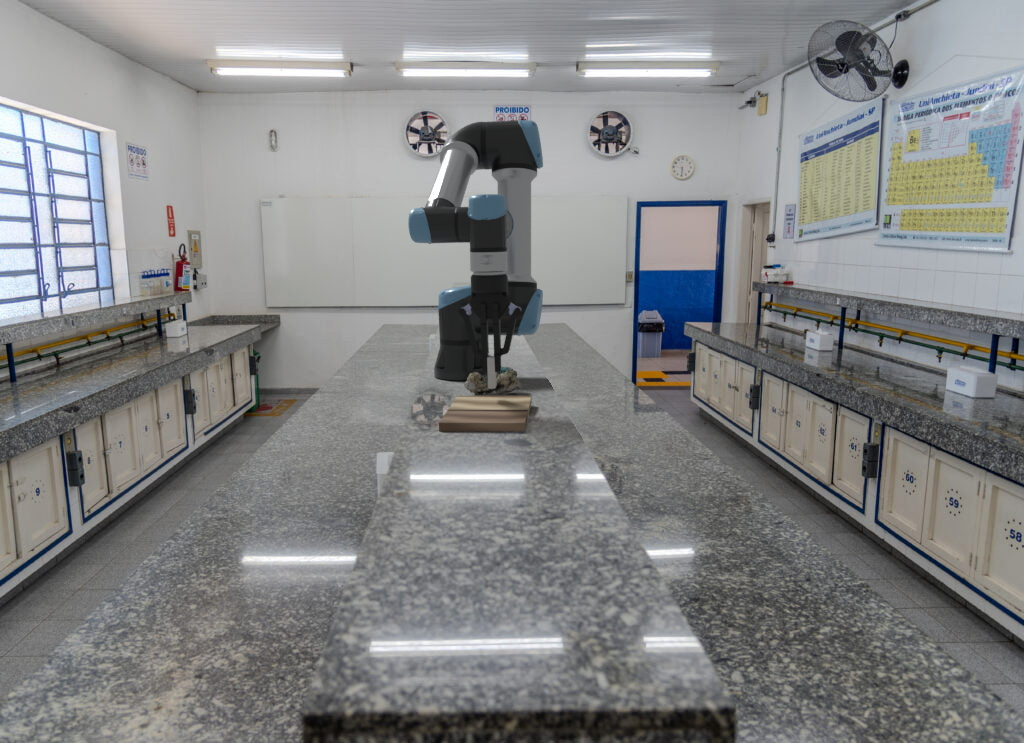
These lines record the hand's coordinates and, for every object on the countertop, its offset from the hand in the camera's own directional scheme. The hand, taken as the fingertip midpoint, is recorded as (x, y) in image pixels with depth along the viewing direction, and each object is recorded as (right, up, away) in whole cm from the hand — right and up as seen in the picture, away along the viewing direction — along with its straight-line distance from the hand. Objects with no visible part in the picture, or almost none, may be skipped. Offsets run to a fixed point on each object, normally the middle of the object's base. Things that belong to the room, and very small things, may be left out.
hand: (492, 387), depth 146 cm
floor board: (-1, -7, -12) cm, 14 cm away
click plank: (0, -5, -2) cm, 5 cm away
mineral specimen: (0, -2, +14) cm, 14 cm away
